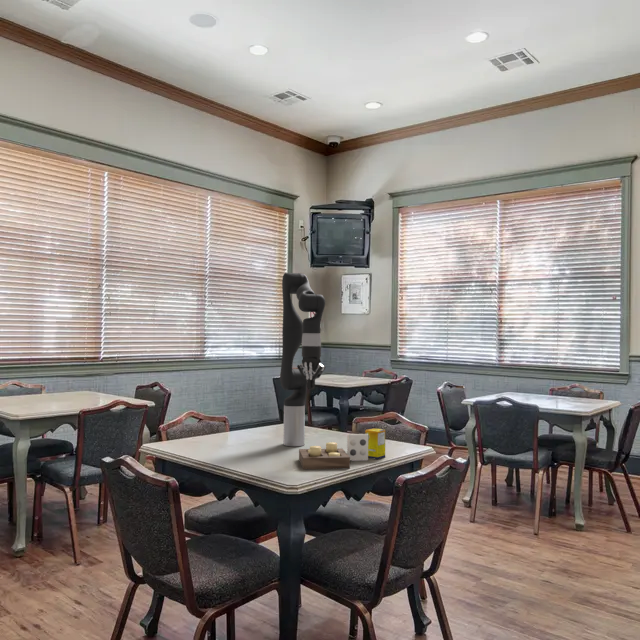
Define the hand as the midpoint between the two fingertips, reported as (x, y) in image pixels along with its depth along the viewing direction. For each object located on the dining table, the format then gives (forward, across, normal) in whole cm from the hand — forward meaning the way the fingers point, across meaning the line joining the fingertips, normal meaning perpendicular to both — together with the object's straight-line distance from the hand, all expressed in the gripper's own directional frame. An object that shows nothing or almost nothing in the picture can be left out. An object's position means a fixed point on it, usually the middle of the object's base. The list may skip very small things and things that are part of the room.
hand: (310, 389), depth 236 cm
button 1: (+26, -5, +4) cm, 26 cm away
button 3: (+23, -10, -1) cm, 25 cm away
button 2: (+23, -10, +9) cm, 27 cm away
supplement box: (+27, -18, -19) cm, 38 cm away
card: (+27, -16, -10) cm, 33 cm away
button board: (+27, -10, +4) cm, 29 cm away
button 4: (+26, -15, +4) cm, 30 cm away
